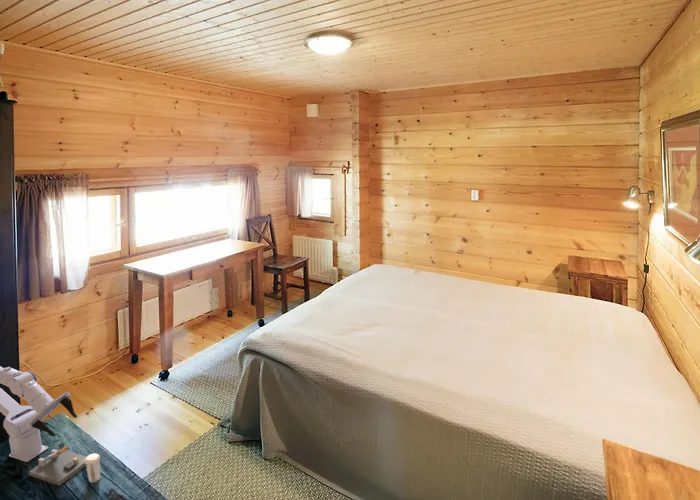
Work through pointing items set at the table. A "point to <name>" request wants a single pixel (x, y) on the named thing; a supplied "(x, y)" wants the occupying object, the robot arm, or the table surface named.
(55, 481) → the base board
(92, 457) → the milkshake
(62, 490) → the table surface
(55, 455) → the latch bar
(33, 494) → the table surface
